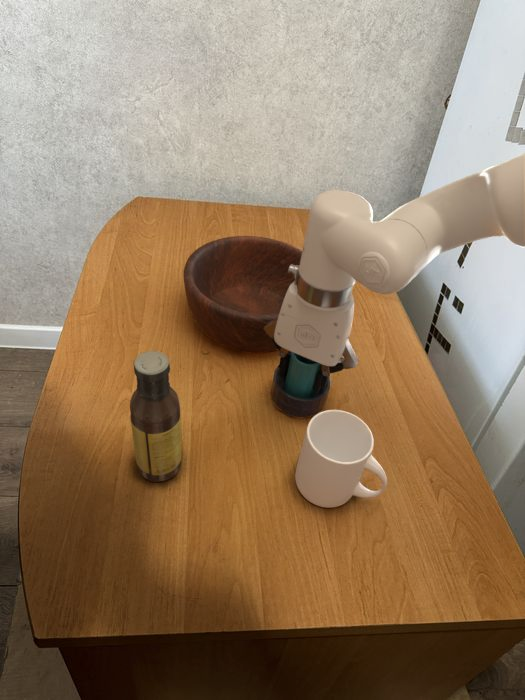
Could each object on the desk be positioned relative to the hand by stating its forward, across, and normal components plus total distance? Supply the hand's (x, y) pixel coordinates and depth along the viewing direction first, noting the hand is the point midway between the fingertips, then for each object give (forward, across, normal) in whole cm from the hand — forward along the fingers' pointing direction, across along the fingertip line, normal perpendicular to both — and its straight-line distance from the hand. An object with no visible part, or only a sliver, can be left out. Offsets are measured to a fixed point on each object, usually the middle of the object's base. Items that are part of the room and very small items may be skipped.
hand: (302, 378), depth 82 cm
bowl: (+5, 0, 0) cm, 5 cm away
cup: (+3, 0, 0) cm, 3 cm away
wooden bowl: (+5, -16, +14) cm, 21 cm away
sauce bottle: (+5, -12, -22) cm, 25 cm away
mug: (+5, +11, -13) cm, 18 cm away
